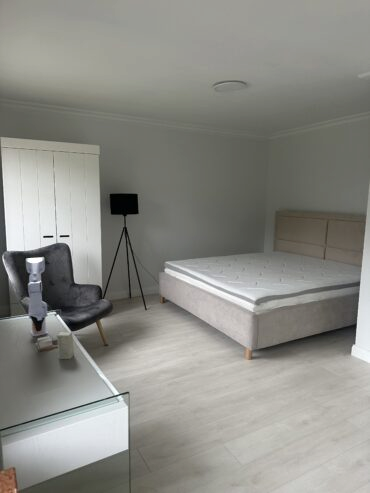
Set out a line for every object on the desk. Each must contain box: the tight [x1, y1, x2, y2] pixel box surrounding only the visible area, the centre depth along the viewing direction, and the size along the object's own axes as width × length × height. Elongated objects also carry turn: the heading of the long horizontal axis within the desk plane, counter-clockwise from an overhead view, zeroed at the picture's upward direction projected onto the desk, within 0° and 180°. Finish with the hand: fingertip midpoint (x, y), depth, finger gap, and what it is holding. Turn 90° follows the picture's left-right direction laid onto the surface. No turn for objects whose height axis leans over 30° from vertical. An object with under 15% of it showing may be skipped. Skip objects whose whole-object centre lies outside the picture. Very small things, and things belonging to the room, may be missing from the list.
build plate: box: [34, 335, 58, 352], centre depth 181 cm, size 10×11×4 cm
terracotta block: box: [31, 322, 43, 335], centre depth 178 cm, size 4×4×5 cm
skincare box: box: [56, 331, 75, 360], centre depth 167 cm, size 6×4×12 cm
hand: (37, 329), depth 179 cm, fingers closed on terracotta block, 4 cm apart
